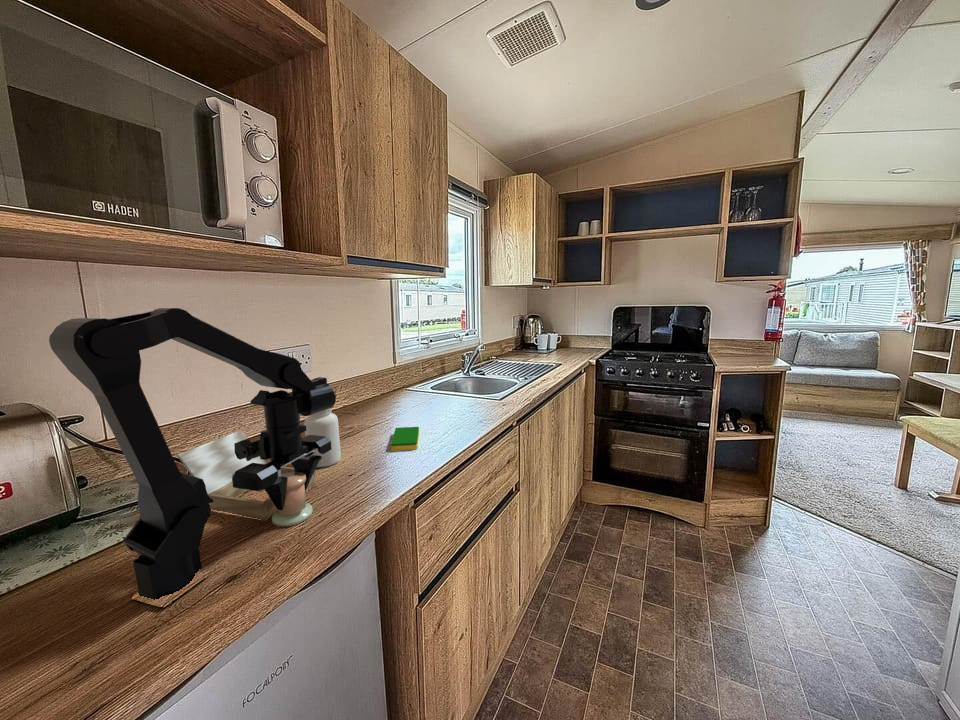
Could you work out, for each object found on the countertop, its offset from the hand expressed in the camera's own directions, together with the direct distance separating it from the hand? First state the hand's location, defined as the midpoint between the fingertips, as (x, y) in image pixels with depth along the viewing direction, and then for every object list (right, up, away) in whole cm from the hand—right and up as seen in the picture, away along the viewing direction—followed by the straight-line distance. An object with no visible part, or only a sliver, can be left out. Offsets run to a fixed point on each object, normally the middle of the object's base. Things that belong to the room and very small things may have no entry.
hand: (291, 501), depth 73 cm
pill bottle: (-4, +1, +25) cm, 25 cm away
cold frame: (-12, -2, +9) cm, 15 cm away
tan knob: (0, -1, 0) cm, 1 cm away
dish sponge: (+14, +3, +39) cm, 41 cm away
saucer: (0, -3, 0) cm, 3 cm away
